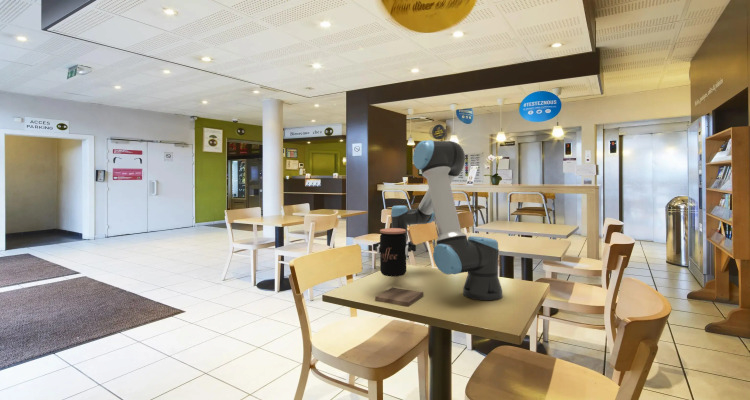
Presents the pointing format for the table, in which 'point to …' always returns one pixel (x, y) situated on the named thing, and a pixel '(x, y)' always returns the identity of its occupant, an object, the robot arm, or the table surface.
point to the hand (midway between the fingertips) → (392, 251)
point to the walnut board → (399, 296)
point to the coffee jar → (392, 252)
